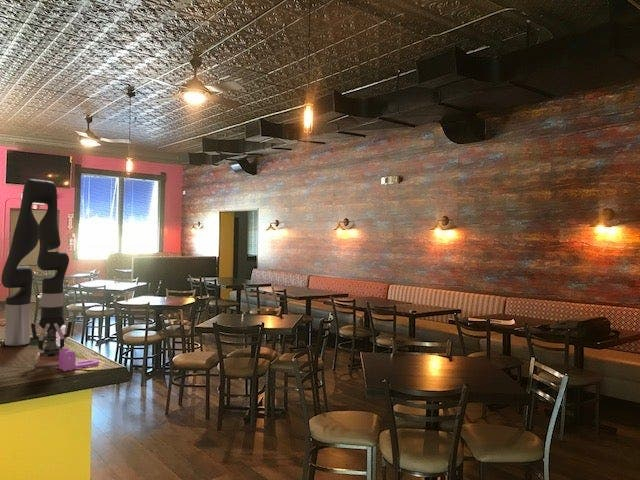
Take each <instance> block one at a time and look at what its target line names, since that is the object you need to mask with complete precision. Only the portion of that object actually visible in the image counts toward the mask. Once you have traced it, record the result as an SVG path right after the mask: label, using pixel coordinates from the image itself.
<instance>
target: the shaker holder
mask: <svg viewBox="0 0 640 480" xmlns="http://www.w3.org/2000/svg"><path fill="white" fill-rule="evenodd" d="M60 351H61V350H59V351H58V353H57V354H56V355H58V356H51V357H44V356H46V354H45V353H44V351H38V352H37V355H36V358H35V368H38V367H39V368H40V367H51V366H53V367H54V366H59V353H60Z"/></svg>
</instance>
